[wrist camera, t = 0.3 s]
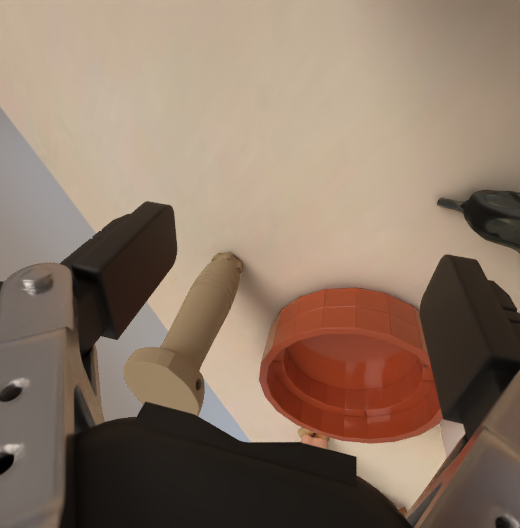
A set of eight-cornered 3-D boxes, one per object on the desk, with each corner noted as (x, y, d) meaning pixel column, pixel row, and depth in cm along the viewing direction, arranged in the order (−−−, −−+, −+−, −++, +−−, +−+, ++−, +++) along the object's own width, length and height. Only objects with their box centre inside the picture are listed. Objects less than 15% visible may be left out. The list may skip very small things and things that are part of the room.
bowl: (279, 267, 33) (267, 308, 28) (469, 304, 31) (490, 356, 26) (265, 374, 44) (254, 418, 39) (405, 408, 41) (412, 458, 36)
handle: (216, 289, 37) (151, 418, 25) (196, 238, 33) (109, 360, 21) (258, 287, 35) (209, 423, 23) (242, 234, 32) (175, 362, 20)
